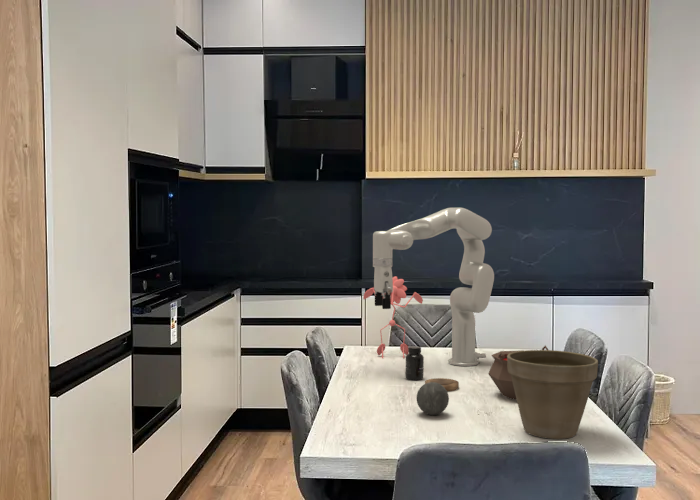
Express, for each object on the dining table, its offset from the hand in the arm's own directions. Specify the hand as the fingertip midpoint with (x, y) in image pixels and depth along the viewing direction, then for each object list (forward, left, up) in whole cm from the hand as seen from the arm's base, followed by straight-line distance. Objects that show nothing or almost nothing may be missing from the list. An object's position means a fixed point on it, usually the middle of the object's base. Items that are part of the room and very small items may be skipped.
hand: (382, 307), depth 283 cm
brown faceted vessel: (-35, +46, -26) cm, 64 cm away
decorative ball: (+4, +58, -26) cm, 64 cm away
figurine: (-17, -34, -26) cm, 46 cm away
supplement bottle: (-9, +11, -26) cm, 30 cm away
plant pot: (-21, +85, -26) cm, 92 cm away
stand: (-13, +27, -26) cm, 40 cm away
